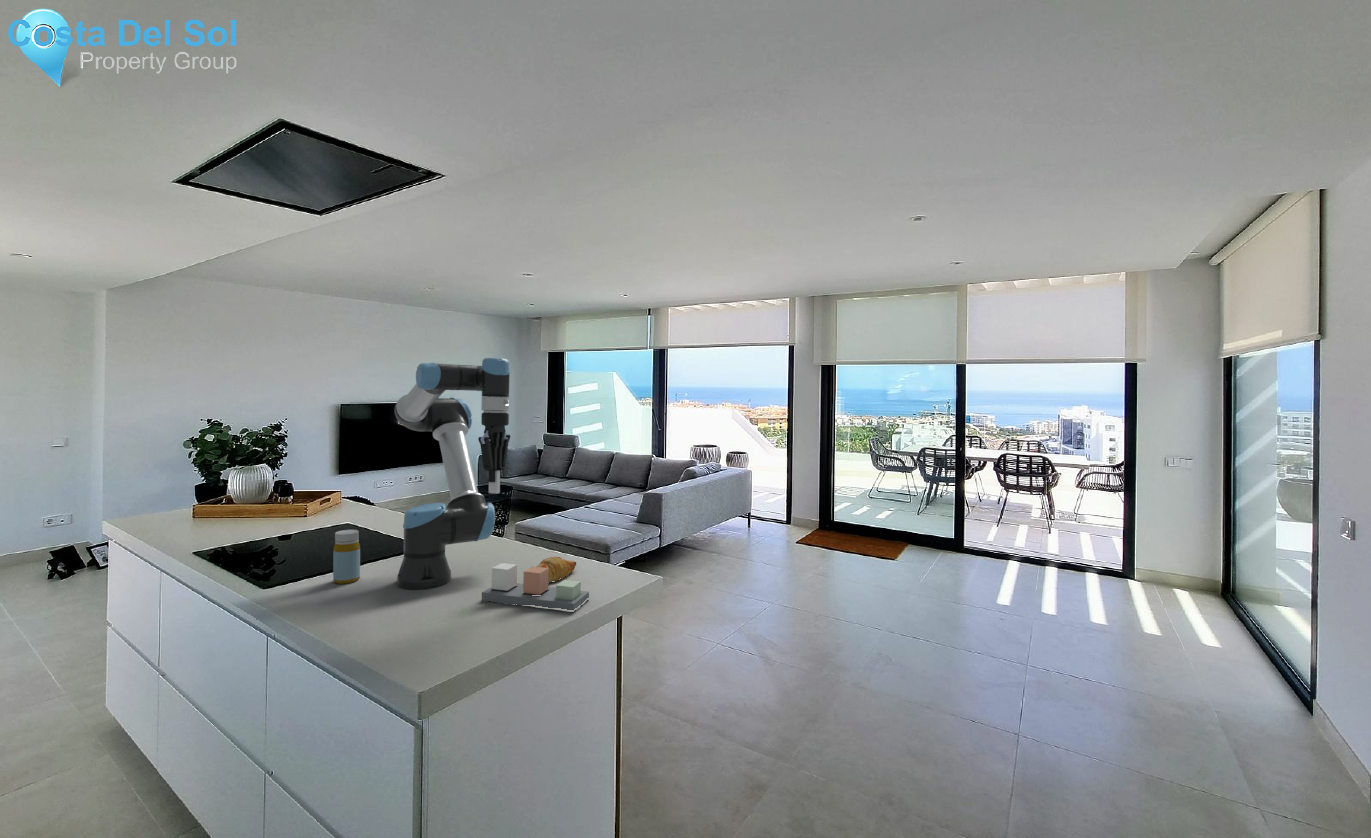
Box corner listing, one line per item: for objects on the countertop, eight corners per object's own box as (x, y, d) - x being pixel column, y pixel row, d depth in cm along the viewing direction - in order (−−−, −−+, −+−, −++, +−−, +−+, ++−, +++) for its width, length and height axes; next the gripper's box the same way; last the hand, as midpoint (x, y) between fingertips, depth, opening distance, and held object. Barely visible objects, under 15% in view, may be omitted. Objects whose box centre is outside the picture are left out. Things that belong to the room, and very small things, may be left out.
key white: (491, 588, 162) (491, 567, 162) (501, 583, 167) (501, 563, 167) (507, 590, 161) (507, 569, 161) (516, 585, 166) (517, 564, 166)
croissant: (530, 600, 172) (539, 579, 170) (511, 578, 177) (519, 558, 174) (580, 580, 190) (588, 561, 187) (561, 561, 194) (569, 543, 192)
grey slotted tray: (481, 601, 160) (481, 592, 160) (501, 589, 170) (501, 581, 170) (573, 613, 154) (573, 603, 153) (588, 600, 163) (589, 591, 163)
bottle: (365, 577, 177) (365, 529, 177) (349, 585, 170) (349, 535, 170) (344, 576, 178) (344, 528, 177) (327, 583, 171) (327, 534, 170)
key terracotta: (523, 592, 160) (523, 571, 160) (532, 587, 165) (532, 566, 164) (539, 594, 159) (539, 573, 158) (548, 588, 163) (548, 568, 163)
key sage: (555, 606, 158) (556, 585, 157) (564, 600, 162) (564, 579, 162) (572, 608, 156) (572, 587, 156) (580, 602, 161) (580, 581, 161)
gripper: (493, 412, 158) (492, 497, 159) (518, 411, 171) (517, 490, 172) (470, 411, 160) (469, 495, 161) (496, 410, 172) (495, 488, 173)
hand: (494, 492), depth 166 cm, fingers closed
